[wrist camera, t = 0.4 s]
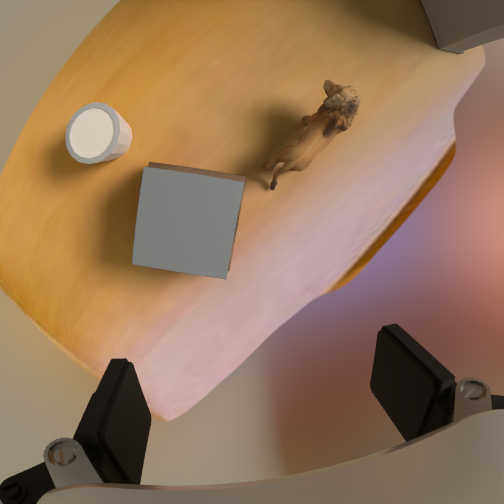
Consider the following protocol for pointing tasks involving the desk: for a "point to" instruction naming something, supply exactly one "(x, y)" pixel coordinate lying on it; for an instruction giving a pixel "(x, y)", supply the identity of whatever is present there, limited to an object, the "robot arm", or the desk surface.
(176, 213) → the top block
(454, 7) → the tall grey upright box
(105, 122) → the beige cup
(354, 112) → the lion figurine
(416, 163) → the desk surface
